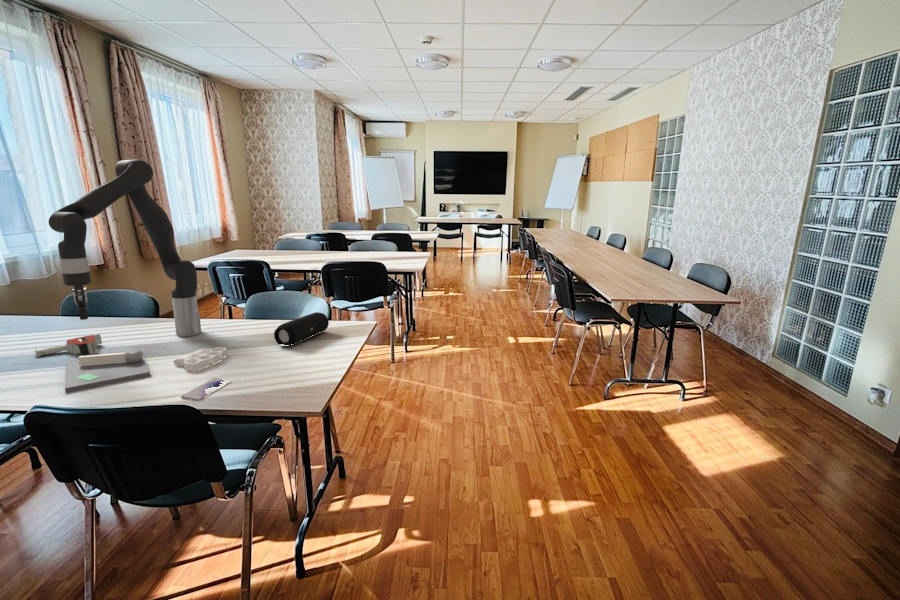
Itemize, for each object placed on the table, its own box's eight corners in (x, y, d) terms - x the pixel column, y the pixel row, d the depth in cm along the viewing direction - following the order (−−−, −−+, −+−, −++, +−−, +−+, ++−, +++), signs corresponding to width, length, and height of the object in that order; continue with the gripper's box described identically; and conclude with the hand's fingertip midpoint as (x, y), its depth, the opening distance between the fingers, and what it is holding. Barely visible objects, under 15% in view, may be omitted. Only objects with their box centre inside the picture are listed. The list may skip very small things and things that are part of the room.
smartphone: (232, 380, 147) (199, 399, 133) (232, 382, 147) (199, 402, 133) (214, 377, 148) (179, 396, 134) (214, 380, 149) (179, 399, 134)
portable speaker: (292, 350, 178) (290, 326, 176) (273, 346, 182) (271, 323, 179) (330, 333, 201) (329, 312, 199) (313, 330, 205) (312, 309, 202)
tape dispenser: (31, 361, 164) (75, 362, 160) (27, 348, 163) (71, 349, 159) (78, 344, 181) (118, 345, 177) (74, 332, 179) (115, 332, 176)
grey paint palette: (204, 353, 173) (236, 356, 170) (167, 369, 156) (201, 374, 153) (203, 345, 173) (236, 348, 170) (165, 361, 156) (200, 365, 152)
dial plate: (141, 352, 170) (140, 348, 170) (150, 375, 150) (149, 371, 149) (66, 365, 157) (66, 361, 156) (65, 392, 136) (64, 388, 135)
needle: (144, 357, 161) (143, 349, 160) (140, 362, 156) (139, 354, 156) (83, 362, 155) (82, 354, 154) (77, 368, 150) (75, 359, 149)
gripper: (90, 272, 148) (98, 321, 152) (89, 267, 158) (97, 313, 162) (61, 274, 143) (70, 325, 147) (61, 268, 153) (70, 316, 158)
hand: (84, 318), depth 155 cm, fingers closed
